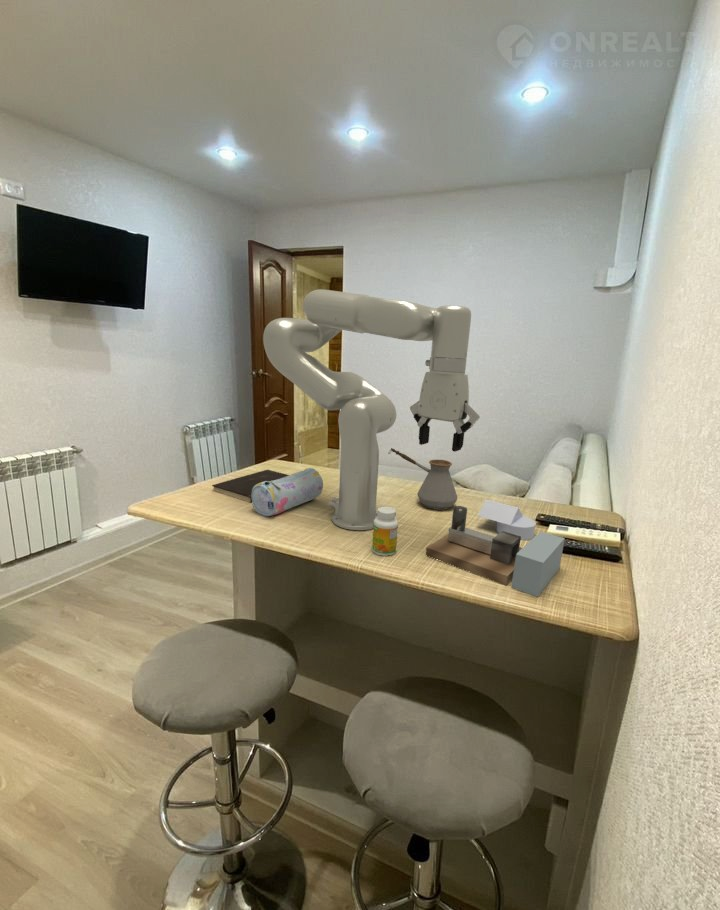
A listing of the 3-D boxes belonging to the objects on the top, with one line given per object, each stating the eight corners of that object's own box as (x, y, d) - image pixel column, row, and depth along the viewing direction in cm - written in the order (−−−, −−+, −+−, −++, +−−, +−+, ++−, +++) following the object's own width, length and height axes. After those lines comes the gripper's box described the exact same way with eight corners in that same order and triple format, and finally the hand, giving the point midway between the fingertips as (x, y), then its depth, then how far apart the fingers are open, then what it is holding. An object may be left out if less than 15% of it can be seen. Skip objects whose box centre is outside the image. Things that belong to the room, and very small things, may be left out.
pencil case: (270, 521, 112) (270, 485, 109) (247, 512, 117) (247, 478, 114) (325, 501, 128) (326, 469, 126) (302, 494, 133) (303, 463, 131)
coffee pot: (459, 502, 133) (465, 453, 129) (452, 515, 122) (457, 462, 119) (391, 490, 140) (395, 444, 137) (379, 501, 130) (382, 451, 126)
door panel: (425, 555, 97) (428, 528, 96) (456, 535, 109) (459, 510, 107) (506, 585, 87) (510, 554, 85) (530, 559, 98) (535, 532, 97)
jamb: (511, 587, 86) (516, 554, 84) (535, 560, 98) (540, 531, 96) (537, 597, 83) (543, 562, 82) (559, 568, 95) (564, 538, 93)
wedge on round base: (475, 528, 114) (526, 543, 107) (478, 503, 113) (530, 517, 105) (489, 518, 121) (538, 532, 113) (492, 495, 120) (542, 507, 112)
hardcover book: (212, 492, 132) (212, 485, 131) (267, 476, 151) (267, 469, 150) (250, 504, 123) (250, 496, 123) (304, 485, 142) (304, 478, 142)
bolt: (447, 540, 100) (451, 508, 98) (453, 536, 103) (457, 504, 101) (499, 557, 93) (504, 523, 91) (504, 552, 95) (509, 519, 94)
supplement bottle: (366, 550, 99) (369, 508, 96) (383, 543, 102) (385, 503, 100) (384, 559, 95) (387, 516, 93) (401, 551, 99) (404, 510, 96)
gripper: (403, 363, 97) (397, 442, 102) (478, 370, 87) (468, 457, 91) (421, 363, 103) (415, 438, 107) (493, 369, 93) (483, 451, 97)
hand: (439, 446), depth 99 cm, fingers open, 7 cm apart
